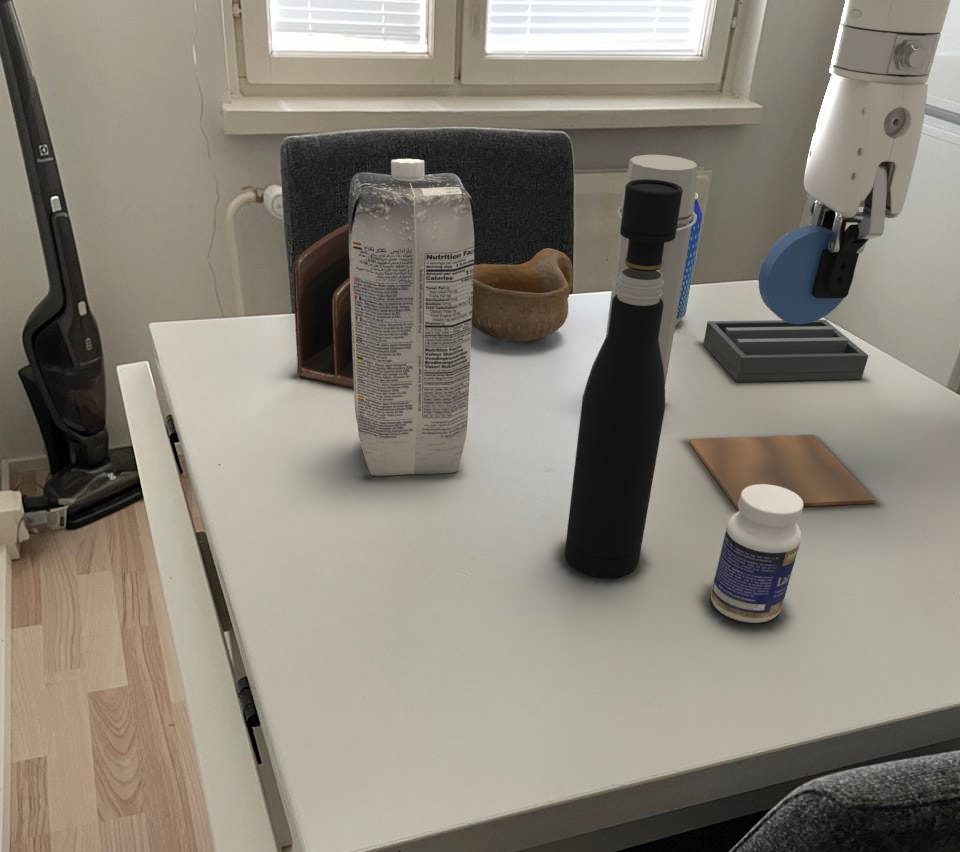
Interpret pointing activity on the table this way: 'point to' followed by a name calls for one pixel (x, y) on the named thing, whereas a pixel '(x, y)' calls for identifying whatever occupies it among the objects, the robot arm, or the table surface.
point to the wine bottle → (624, 397)
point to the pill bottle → (758, 554)
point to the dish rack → (784, 351)
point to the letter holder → (324, 310)
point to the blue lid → (796, 276)
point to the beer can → (689, 262)
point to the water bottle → (673, 251)
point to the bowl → (522, 297)
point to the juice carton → (411, 317)
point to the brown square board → (781, 468)
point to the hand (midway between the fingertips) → (822, 290)
